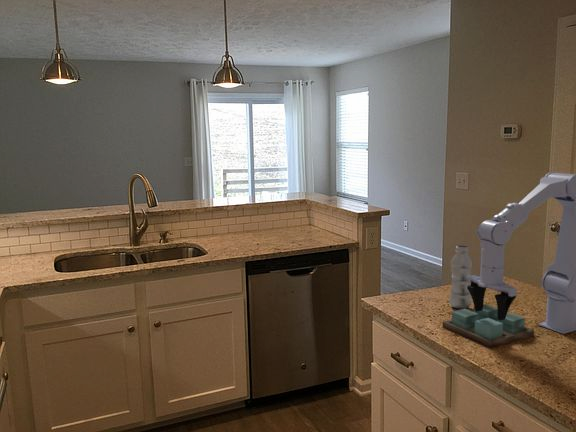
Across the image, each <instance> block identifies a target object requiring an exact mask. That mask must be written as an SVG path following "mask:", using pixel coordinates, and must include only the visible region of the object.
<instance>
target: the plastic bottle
mask: <svg viewBox="0 0 576 432" xmlns="http://www.w3.org/2000/svg"><path fill="white" fill-rule="evenodd" d="M472 269H473V261H472V259H471V257H470V256H469V246H468V245H463V244H460V245H456V246H455V254H454V255H453V256H452V258H451V260H450V270H451V272H450V273H451V285H450V286H451V288H450V293H449V297H448V300H449V305H450V306H451V307H452V308H455V309H458V310H461V309H469V308H470V307H471V304H472V297H471V294H470V292H469V291H468V289H467V286H469V285H470V284H471V283H468V276H470V275H471V274H472Z"/></svg>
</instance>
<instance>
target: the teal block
mask: <svg viewBox="0 0 576 432" xmlns="http://www.w3.org/2000/svg"><path fill="white" fill-rule="evenodd" d="M502 333H503V323H501V322H498V321H495V320H493V319H490V318H485V319H481V320H477V321H475V330H474V334H477V335H479V336H481V337H484V338H486V339H488V340H492V339H496V338H499V337H502Z"/></svg>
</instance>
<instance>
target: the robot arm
mask: <svg viewBox="0 0 576 432" xmlns="http://www.w3.org/2000/svg"><path fill="white" fill-rule="evenodd" d="M550 198H553V199H555V200H556V201H557V202H558V203H559V204H560V205H561V206H562V213H561V220H560V225H559V233H558V239H557V244H556V249H555V250H556V251H555V256H554V257H555V258H554V262H552V263H550V264H548V265H547V266H546V267H545V273H544V275H543V276H542V279H541V288H542V289H543V290H544V291H545V295H547V298H546V311H545V313H546V314H545V320H544V321H543V322H538V326H541V327H543V328H545V329H549V330H552V331H554V332H557V333H560V334H567V333H571V332H575V331H576V173H575V174H574V173H565V172H564V173H562V172H554V171H550V172H547V173H546V174H545V175H544V176H542V177H541V178H540V179H539V184H537V186H536V187H535V188H534V189H533V190H532V191H530V192H529V193H528V194H527V195H526V196H525V197H524V198H523V199H521V201H519V203H518V202H509V203H507V205H505V208H503V209H502V210H501V211H500V212H499V213H497V214H495V215H494V216H493V217H492V218H491V219H487V220H484V221H483V222H482V223H480V225H478V230H476V235H477V237H478V239H479V245H480V247H481V248H480V250H481V251H480V269H479V270H480V272H479V273H480V274H479V276H478V275H475V274H472V275H470V276H468V283H470V285H469V286H467V289H468V291H469V292H470V294H471V301H472V302H473V309H474V308H475V311H476V312H478V311H482V310H483V304H484V301H485V300H484V299H485V294H486V291H487V289H489V290H493V291H495V292H499V293H497V294H495V295H494V298H495V300H496V305H497V306H496V308H497V317H498V320H504V319H505V318H506V315H507V313H509V309H510V307H511V305H512V304H513V302H514V301H515V299H516V298H517V295H518V288H516V287H515V286H512V285H510V284H508V283H506V282H505V281H504V272H505V271H504V270H505V249H506V244H507V243H508V242H509V241H510V239H511V237H512V234H514V231H515V230H516V229H518V227H520V226H521V225H522V224H524V222H526V221H527V220H528V219H529V213H530V212H531V211H533V210H534V209H537V207H539V206H540V205H542V204H543V203H544V202H546V201H548V200H549V199H550Z"/></svg>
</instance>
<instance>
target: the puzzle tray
mask: <svg viewBox="0 0 576 432" xmlns="http://www.w3.org/2000/svg"><path fill="white" fill-rule="evenodd" d="M485 318H490V319H493V320H495V321H498V322H501V323H503V333H502V337H499V338H496V339H492V340H488V339H486V338H484V337H481V336H479V335H477V334H474V330H475V321H477V320H481V319H485ZM525 325H526V318H525V317H523V316H520V315H518V314H515V313H512V312H507V315H506V318H505V319H504V320H498V317H497V306H496V307H495V306H492V305H491V304H488V303H483V310H482V311H478V312H476V311H475V308H474V307H473V311H472V310H470V309H468V308H466V309H457V310H454V311H451V319H447V320H443V321H442V328H445V329H447V330H449V331H451V332H453V333H455V334H458V335H460V336H463V337H465V338H467V339H469V340H470V341H473V342H475V343H478V344H480V345H482V346H484V347H485V348H486V347H487V348H489V349H492V348H495V347H499V346H502V345H505V344H509V343H513V342H515V341H516V342H517V341H520V340H523V339H527V338H530V337H534V336H535V329H532V328H530V327H527V326H525Z"/></svg>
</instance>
